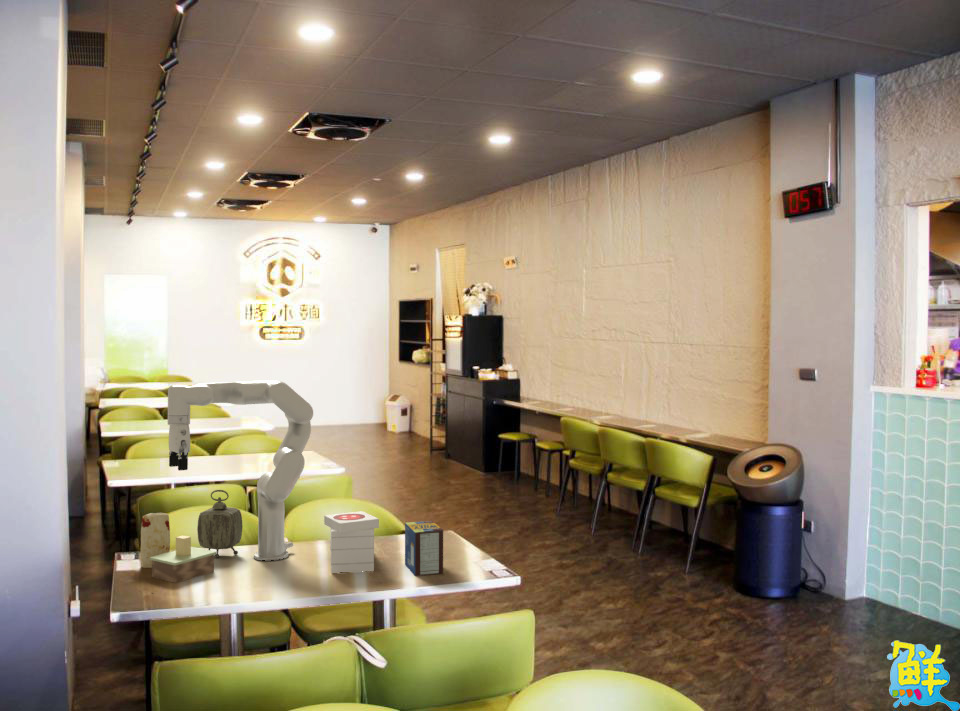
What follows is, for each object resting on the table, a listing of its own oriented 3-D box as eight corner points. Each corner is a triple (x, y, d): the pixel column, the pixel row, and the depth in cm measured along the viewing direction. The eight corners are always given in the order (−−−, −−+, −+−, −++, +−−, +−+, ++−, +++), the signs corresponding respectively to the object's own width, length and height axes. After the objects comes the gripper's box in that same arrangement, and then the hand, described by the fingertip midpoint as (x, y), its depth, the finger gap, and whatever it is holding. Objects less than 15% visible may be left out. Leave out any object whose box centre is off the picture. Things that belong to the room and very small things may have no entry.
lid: (190, 551, 292) (190, 529, 292) (216, 556, 286) (216, 534, 286) (149, 562, 278) (149, 539, 278) (175, 568, 271) (175, 545, 271)
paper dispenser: (374, 551, 318) (374, 504, 318) (379, 573, 289) (380, 522, 288) (323, 553, 315) (324, 506, 314) (324, 575, 285) (324, 523, 285)
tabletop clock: (242, 554, 312) (242, 488, 312) (232, 560, 303) (232, 492, 303) (205, 552, 314) (205, 487, 313) (195, 559, 305) (195, 491, 304)
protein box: (432, 562, 303) (432, 520, 303) (443, 573, 289) (443, 529, 288) (404, 564, 300) (404, 522, 300) (414, 576, 286) (414, 531, 285)
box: (190, 568, 292) (190, 549, 292) (213, 574, 286) (213, 554, 286) (151, 580, 278) (151, 559, 278) (175, 586, 272) (175, 564, 272)
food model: (139, 572, 288) (139, 515, 287) (141, 566, 294) (141, 511, 293) (169, 570, 290) (169, 513, 290) (171, 565, 297) (171, 509, 296)
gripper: (197, 421, 287) (197, 470, 288) (181, 417, 301) (181, 464, 301) (176, 422, 283) (175, 472, 283) (160, 418, 296) (159, 465, 297)
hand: (178, 468), depth 292 cm, fingers open, 9 cm apart
